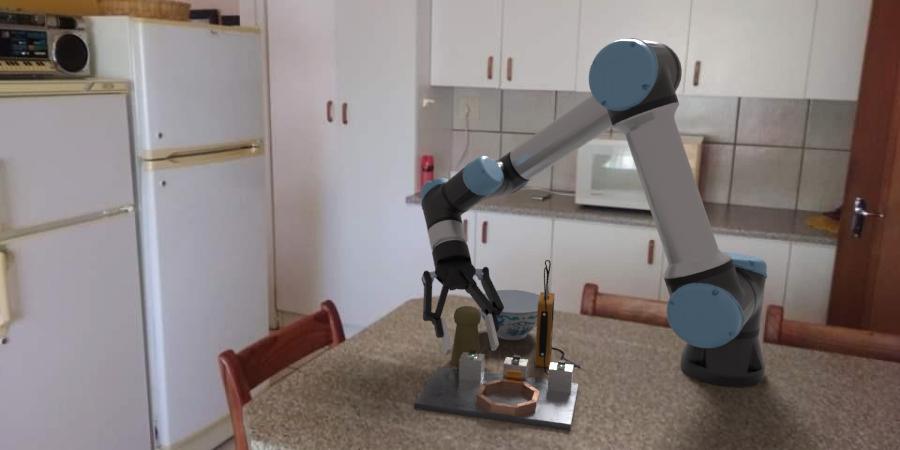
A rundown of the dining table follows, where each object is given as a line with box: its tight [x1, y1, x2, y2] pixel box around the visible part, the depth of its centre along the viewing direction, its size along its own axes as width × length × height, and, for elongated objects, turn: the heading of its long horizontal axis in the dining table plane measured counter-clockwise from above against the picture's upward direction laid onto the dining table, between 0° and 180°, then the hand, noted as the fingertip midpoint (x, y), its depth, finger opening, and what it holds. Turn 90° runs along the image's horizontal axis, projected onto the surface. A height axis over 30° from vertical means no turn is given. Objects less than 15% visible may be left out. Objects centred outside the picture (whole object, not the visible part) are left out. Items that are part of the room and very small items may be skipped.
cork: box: [450, 305, 482, 368], centre depth 139 cm, size 6×6×11 cm
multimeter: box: [534, 259, 588, 376], centre depth 138 cm, size 15×10×20 cm
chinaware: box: [477, 289, 540, 341], centre depth 154 cm, size 15×15×8 cm
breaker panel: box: [413, 350, 579, 431], centre depth 124 cm, size 26×16×6 cm, turn 76°
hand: (472, 349), depth 136 cm, fingers open, 9 cm apart
